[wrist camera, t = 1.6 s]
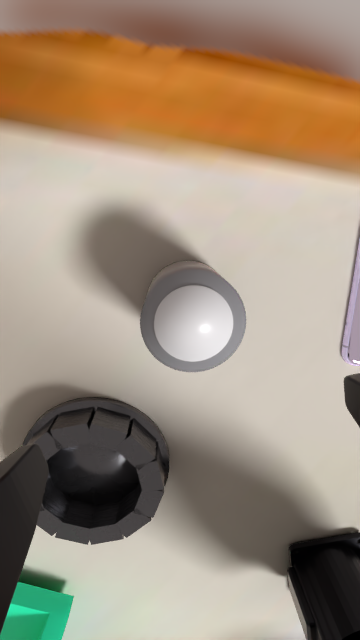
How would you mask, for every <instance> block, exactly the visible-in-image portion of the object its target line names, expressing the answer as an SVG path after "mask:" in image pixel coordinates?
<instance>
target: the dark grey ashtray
mask: <svg viewBox="0 0 360 640" xmlns="http://www.w3.org/2000/svg"><path fill="white" fill-rule="evenodd" d="M34 443H36V444H38V445H39V446H40V448H41V450H42V452H43V455H44V457H45V459H46V462H47V464H48V468H49V473H48V478H47V482H46V487H45V491H44V495H43V500H42V504H41V508H40V513H39V517H38V521H37V525H38V526H39V527H40V528H42V529H43V530H44V531H46V532H47V533H49V534H50V535H51V536H52V535H54V534H55V533H56V532H57V533H56V536H55V537H56V538H60V539H65V540H69V541H74V542H78V543H83V544H87V545H88V542H89V539H90V542H91V545H92V544H98V543H104V542H109V541H115V540H120V539H123V538H124V536H125V537H126V538H127V537H128V536H130V535H131V534H133V533H134V532H135V531H137V530H138V529H140V528H141V527H142V526H144V525H145V524H147V523H148V522H149V521H151V517H152V518H153V517H154V515H155V512H156V510H157V507H158V505H159V503H160V500H161V498H162V495H163V493H164V486H165V484H166V481H167V478H168V473H169V453H168V447H167V444H166V441H165V439H164V437H163V435H162V433H161V431H160V430H159V428H158V427H157V426H156V424H155V423H154V422H153V421H152V420H151V419H150V418H149V417H147V416H146V415H145V414H144V413H142V412H141V411H139V410H138V409H136V408H134V407H132V406H130V405H128V404H126V403H123V402H120V401H117V400H112V399H108V398H98V397H92V398H80V399H75V400H71V401H67V402H65V403H62V404H59V405H58V406H56V407H54V408H52V409H50V410H49V411H48V412H46V413H45V414H43V415H42V416H41V417H40V418H39V419H38V420H37V422H36V423H35V424H34V426H33V427H32V428H31V430H30V431H29V433H28V434H27V436H26V438H25V440H24V443H23V446H24V445H29V444H34Z"/></svg>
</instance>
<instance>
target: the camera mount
mask: <svg viewBox="0 0 360 640" xmlns="http://www.w3.org/2000/svg"><path fill="white" fill-rule="evenodd" d="M73 597H74V596H71V595H67V594H63V593H59V592H55V591H52V590H48V589H44V588H40V587H36V586H32V585H28V584H24V583H21V582H18V583H17V586H16V589H15V592H14V595H13V598H12V601H11V604H10V607H9V610H8V613H7V616H6V619H5V622H4V625H3V628H2V631H1V634H0V640H61V639H62V636H63V633H64V630H65V627H66V623H67V620H68V617H69V613H70V609H71V605H72V601H73Z"/></svg>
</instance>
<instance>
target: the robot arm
mask: <svg viewBox="0 0 360 640" xmlns="http://www.w3.org/2000/svg"><path fill="white" fill-rule="evenodd" d="M344 392H345V403H346V406H347V409H348V410H349V412H350V414H351V415H352V417H353V418H354V420H355V421H356V423H357V424H358V426H359V427H360V373H358V374H353V375H349V376H346V377H345V378H344ZM48 473H49V468H48V464H47V462H46V459H45V457H44V455H43V452H42V450H41V448H40V446H39V445H38V444H36V443H34V444H29V445H24V446H22V447H20V448H19V449H18V450H16V451H15V452H13V453H12V454H11V455H9V456H8V457H7V458H5V459H4V460H3V461H1V462H0V634H1V631H2V628H3V625H4V622H5V619H6V616H7V613H8V610H9V607H10V604H11V601H12V598H13V595H14V592H15V589H16V586H17V583H18V580H19V577H20V574H21V571H22V568H23V565H24V562H25V559H26V556H27V553H28V550H29V547H30V544H31V541H32V538H33V535H34V532H35V528H36V525H37V521H38V517H39V513H40V508H41V504H42V500H43V495H44V491H45V487H46V482H47V478H48ZM289 558H290V566H291V567H289V568H288V570H287V572H288V581H289V589H290V592H291V595H292V598H293V601H294V604H295V607H296V610H297V613H298V616H299V619H300V622H301V625H302V628H303V631H304V634H305V637H306V640H360V533H352V534H347V535H341V536H335V537H329V538H324V539H318V540H312V541H307V542H301V543H295V544H292V545H290V546H289Z"/></svg>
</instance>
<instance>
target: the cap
mask: <svg viewBox="0 0 360 640" xmlns="http://www.w3.org/2000/svg"><path fill="white" fill-rule="evenodd" d="M140 327H141V334H142V337H143V340H144V342H145V344H146V346H147V348H148V349H149V351H150V352H151V353H152V355H153V356H154V357H155V358H156V359H157V360H158V361H160V362H161V363H163V364H164V365H166V366H168V367H170V368H172V369H175V370H179V371H184V372H200V371H205V370H209V369H212V368H214V367H216V366H218V365H220V364H222V363H223V362H225V361H226V360H227V359H228V358H229V357H231V356H232V354H233V353H234V352H235V351H236V349H237V348H238V347H239V345H240V343H241V341H242V339H243V336H244V333H245V328H246V313H245V308H244V305H243V302H242V300H241V298H240V296H239V294H238V293H237V291H236V290H235V289H234V288H233V287H232V286H231V285H230V284H229V283H228V282H227V281H226V280H225V279H224V278H223V277H221V276H220V275H219V274H218V273H217V272H216V271H215V270H213V269H212V268H211V267H209V266H207V265H205V264H203V263H200V262H197V261H179V262H176V263H173V264H170V265H168V266H167V267H165V268H164V269H162V270H161V271H160V272H159V273H158V274H157V275H156V276H155V278H154V279H153V281H152V282H151V284H150V287H149V289H148V292H147V295H146V299H145V302H144V305H143V308H142V312H141V319H140Z"/></svg>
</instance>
